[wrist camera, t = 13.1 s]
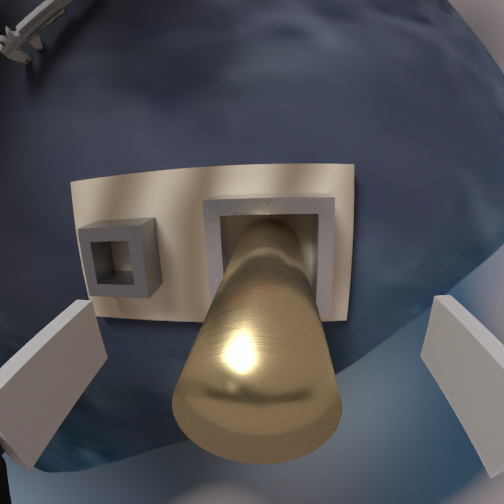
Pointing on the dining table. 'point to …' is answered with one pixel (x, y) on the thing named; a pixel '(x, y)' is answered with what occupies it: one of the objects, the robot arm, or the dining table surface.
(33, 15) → the caliper
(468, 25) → the dining table surface
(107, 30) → the dining table surface
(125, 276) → the fitting board
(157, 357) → the dining table surface
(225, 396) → the brass cylinder
